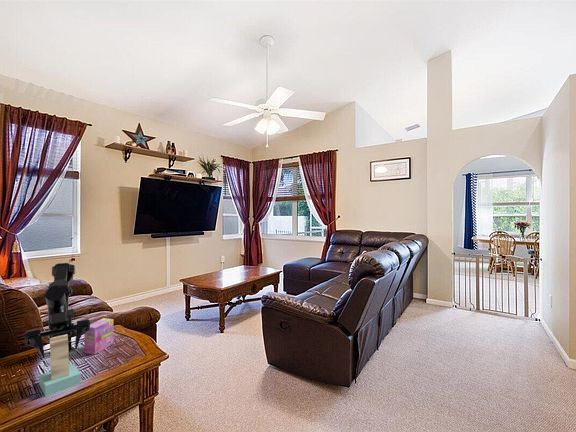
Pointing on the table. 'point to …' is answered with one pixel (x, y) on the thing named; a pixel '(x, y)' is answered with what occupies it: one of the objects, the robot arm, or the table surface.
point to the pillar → (59, 356)
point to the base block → (59, 381)
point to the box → (99, 336)
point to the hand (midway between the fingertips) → (60, 353)
